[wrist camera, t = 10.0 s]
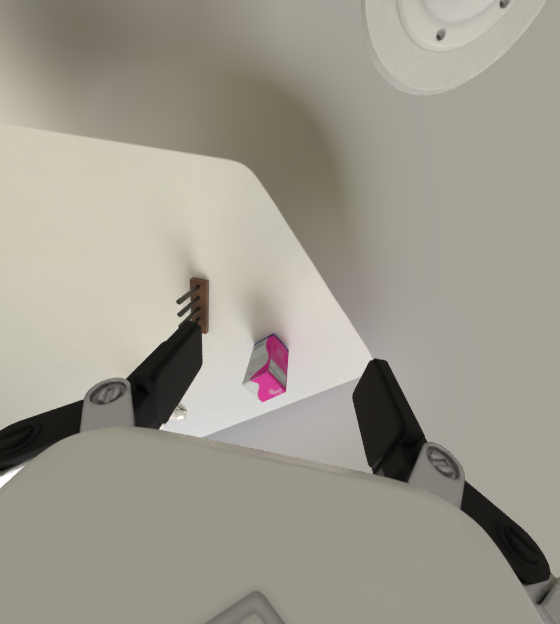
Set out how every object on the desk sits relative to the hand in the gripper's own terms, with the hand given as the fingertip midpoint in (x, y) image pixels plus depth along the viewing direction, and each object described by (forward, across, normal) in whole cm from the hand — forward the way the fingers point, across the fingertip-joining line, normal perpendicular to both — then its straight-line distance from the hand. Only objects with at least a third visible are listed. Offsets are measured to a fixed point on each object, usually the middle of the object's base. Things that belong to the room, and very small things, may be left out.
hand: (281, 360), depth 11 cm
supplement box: (+27, +1, +22) cm, 35 cm away
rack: (+27, +17, +15) cm, 35 cm away
